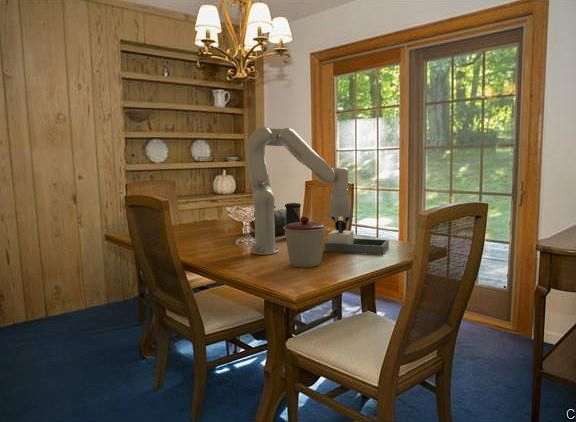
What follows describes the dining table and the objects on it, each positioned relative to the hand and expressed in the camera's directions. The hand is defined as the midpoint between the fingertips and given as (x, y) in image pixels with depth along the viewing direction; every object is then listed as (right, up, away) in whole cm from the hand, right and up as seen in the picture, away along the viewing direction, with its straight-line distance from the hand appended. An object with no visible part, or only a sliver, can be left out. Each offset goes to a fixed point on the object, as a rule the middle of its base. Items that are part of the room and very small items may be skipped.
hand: (340, 229), depth 220 cm
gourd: (-36, -4, +48) cm, 60 cm away
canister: (-19, -14, -30) cm, 38 cm away
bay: (+8, -10, -2) cm, 12 cm away
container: (-23, -6, +32) cm, 40 cm away
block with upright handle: (0, -8, +1) cm, 8 cm away
